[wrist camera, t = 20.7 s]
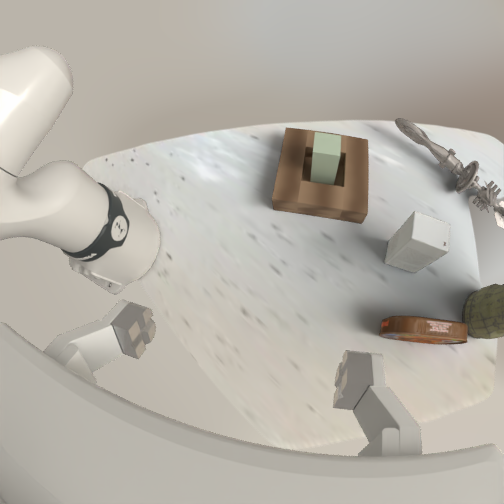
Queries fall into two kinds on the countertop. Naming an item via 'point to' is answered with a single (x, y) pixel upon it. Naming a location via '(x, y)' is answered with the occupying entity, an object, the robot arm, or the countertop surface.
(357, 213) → the walnut holder
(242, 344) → the countertop surface
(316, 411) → the countertop surface
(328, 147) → the green block
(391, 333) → the tin
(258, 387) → the countertop surface
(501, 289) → the thermos
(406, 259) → the skincare box
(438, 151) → the spaceship
